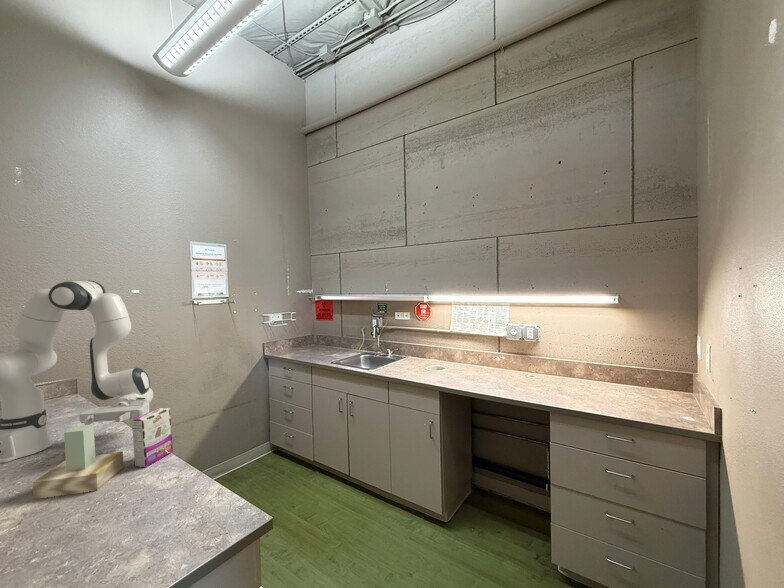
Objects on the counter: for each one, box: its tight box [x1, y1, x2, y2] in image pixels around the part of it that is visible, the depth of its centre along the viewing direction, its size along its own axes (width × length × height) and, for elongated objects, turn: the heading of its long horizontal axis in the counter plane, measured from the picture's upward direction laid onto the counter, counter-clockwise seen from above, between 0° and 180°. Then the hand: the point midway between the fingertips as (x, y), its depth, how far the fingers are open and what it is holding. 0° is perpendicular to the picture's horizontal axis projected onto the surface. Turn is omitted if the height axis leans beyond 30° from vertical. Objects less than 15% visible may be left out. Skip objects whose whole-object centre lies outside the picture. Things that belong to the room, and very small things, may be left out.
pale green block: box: [63, 423, 96, 471], centre depth 107 cm, size 5×5×12 cm
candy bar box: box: [131, 407, 174, 468], centre depth 120 cm, size 11×5×16 cm, turn 168°
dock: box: [32, 450, 124, 500], centre depth 107 cm, size 16×14×5 cm
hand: (102, 421), depth 120 cm, fingers open, 8 cm apart
